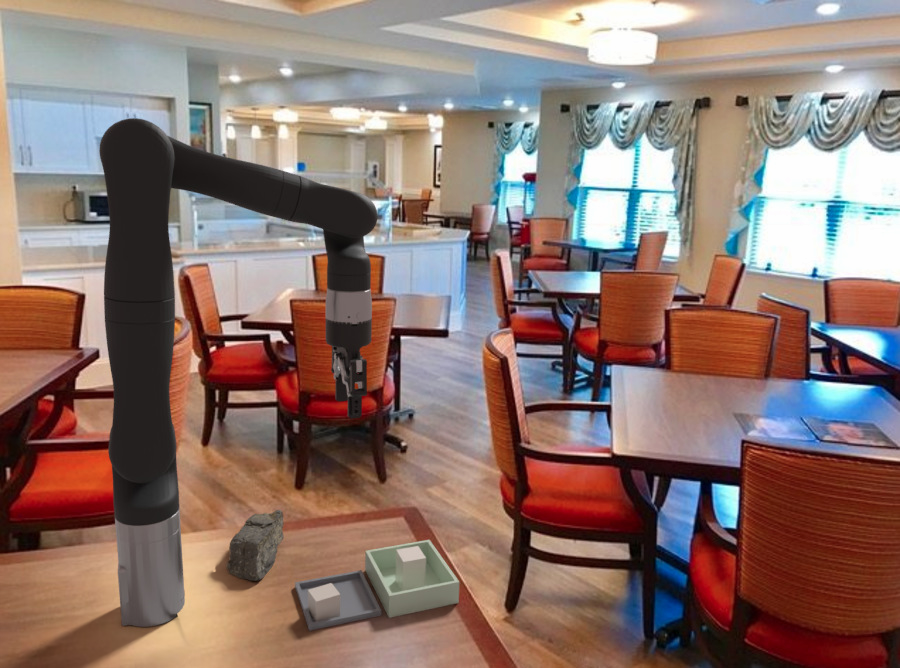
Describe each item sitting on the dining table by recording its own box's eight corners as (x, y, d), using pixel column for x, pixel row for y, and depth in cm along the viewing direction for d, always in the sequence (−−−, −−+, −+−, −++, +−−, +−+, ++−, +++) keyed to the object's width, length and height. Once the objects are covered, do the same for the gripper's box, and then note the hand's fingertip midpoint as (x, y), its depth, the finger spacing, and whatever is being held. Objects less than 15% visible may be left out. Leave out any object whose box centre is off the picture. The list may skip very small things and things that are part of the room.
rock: (230, 515, 134) (282, 500, 135) (241, 546, 136) (292, 531, 137) (215, 561, 118) (275, 544, 119) (228, 596, 119) (286, 579, 120)
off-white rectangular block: (402, 593, 119) (403, 562, 117) (395, 580, 122) (396, 549, 121) (424, 589, 120) (426, 558, 119) (417, 576, 124) (418, 545, 122)
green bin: (388, 620, 113) (389, 596, 112) (365, 573, 125) (365, 550, 124) (458, 605, 117) (459, 581, 116) (428, 561, 130) (429, 539, 129)
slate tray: (309, 633, 109) (309, 625, 108) (295, 590, 120) (295, 582, 119) (381, 618, 113) (381, 610, 113) (361, 577, 124) (361, 570, 124)
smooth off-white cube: (316, 624, 110) (316, 601, 109) (308, 612, 113) (307, 589, 112) (340, 616, 112) (340, 594, 111) (331, 604, 115) (331, 582, 114)
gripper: (316, 307, 121) (317, 397, 125) (336, 326, 108) (336, 426, 112) (359, 305, 124) (358, 394, 127) (383, 323, 111) (381, 421, 115)
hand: (348, 408), depth 120 cm, fingers open, 8 cm apart
